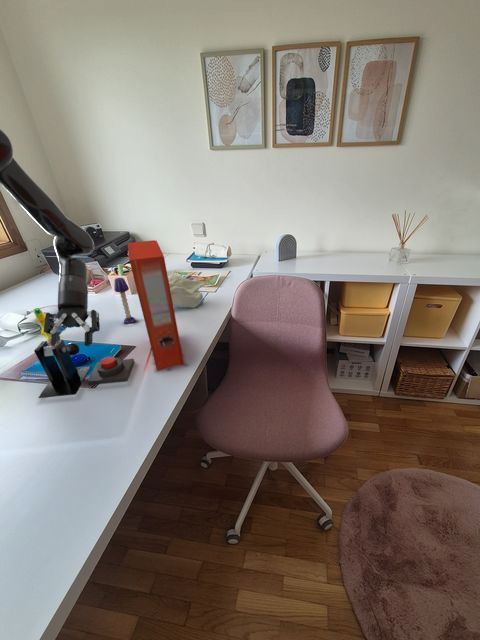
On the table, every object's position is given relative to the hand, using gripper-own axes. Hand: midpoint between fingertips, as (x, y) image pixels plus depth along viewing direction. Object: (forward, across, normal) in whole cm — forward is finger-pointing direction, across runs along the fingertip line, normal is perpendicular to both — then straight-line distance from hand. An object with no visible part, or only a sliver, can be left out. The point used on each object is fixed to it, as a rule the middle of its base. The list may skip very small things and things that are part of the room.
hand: (72, 346), depth 86 cm
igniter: (+7, +12, -3) cm, 14 cm away
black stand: (+11, 0, -2) cm, 11 cm away
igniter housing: (+10, +12, 0) cm, 15 cm away
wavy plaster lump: (-22, +27, +31) cm, 46 cm away
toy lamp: (-14, +9, +23) cm, 28 cm away
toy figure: (-7, -15, +17) cm, 23 cm away
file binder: (+3, +25, +6) cm, 26 cm away
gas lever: (+4, 0, -4) cm, 6 cm away
